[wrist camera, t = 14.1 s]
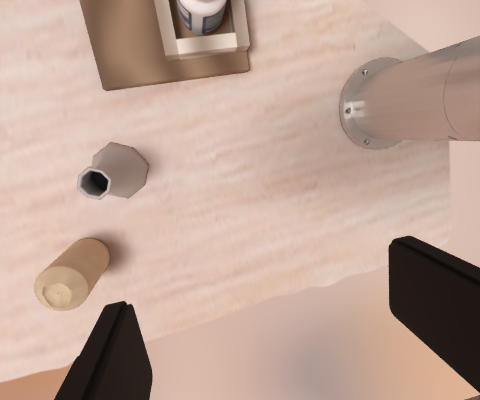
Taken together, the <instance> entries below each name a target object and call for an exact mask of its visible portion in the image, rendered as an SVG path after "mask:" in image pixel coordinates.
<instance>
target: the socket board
mask: <svg viewBox="0 0 480 400" xmlns="http://www.w3.org/2000/svg"><path fill="white" fill-rule="evenodd" d="M80 4H81V8H82V11H83V15H84V19H85V23H86V27H87V30H88V34H89V38H90V42H91V45H92V49H93V53H94V57H95V60H96V64H97V68H98V72H99V75H100V79H101V83H102V87H103V89H104V90H106V91H110V90H118V89H125V88H133V87H140V86H148V85H155V84H162V83H170V82H177V81H185V80H192V79H200V78H207V77H214V76H222V75H229V74H237V73H244V72H247V71H248V70H249V65H248V58H247V49H248V48H249V46H250V42H249V35H248V27H247V19H246V12H245V4H244V0H227V1H226V5H225V9H224V14H223V18H222V21H221V24H220V26H219V27H218V29H217V30H216V31H215V32H213V33H212V34H209V35H205V36H201V35H196V34H194V33H192V32H190V31H189V30H188V29H187V28H186V27H185V26H184V25H183V23H182V22H181V20H180V17H179V13H178V7H177V0H80Z"/></svg>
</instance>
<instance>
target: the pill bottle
mask: <svg viewBox="0 0 480 400" xmlns="http://www.w3.org/2000/svg"><path fill="white" fill-rule="evenodd" d="M226 1H227V0H177V7H178V13H179V17H180V20H181V22H182V23H183V25H184V26H185V27H186V28H187V29H188V30H189V31H190V32H192V33H194V34H196V35H201V36H205V35H209V34H212V33H213V32H215V31H216V30H217V29H218V27H219V26H220V24H221V21H222V18H223V14H224V9H225V5H226Z"/></svg>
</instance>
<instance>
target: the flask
mask: <svg viewBox="0 0 480 400" xmlns="http://www.w3.org/2000/svg"><path fill="white" fill-rule="evenodd" d="M147 170H148V164H147V163H146V162H145V160H144V159H143V158H142V157H141V156H140V155H139V154H138V153H137V152H136V150H135V149H134V148H131V147H127V146H123V145H119V144H115V143H111V142H110V143H109V144H108V145H107V146H105V147H104V148H103V149H102V150H100V151H99V152H98V153H97V154H96V155H94V156H93V162H92V167H88V168H87V169H85V170H84V171H83V172H82V173H81V174H79V176H78V182H77V188H78V189H79V190H80V191H81V192H82V193H83V194H84V195H85V196H86V197H89V198H93V199H98V200H101V199H102V198H103V197H104V196H106V195H107V194H109V195H114V196H119V197H124V198H129V197H131V196H132V195H133V194H134V193H136V192H137V191H138V190H139V189H141V188H142V187H143V186H144V185H145V180H146V175H147Z"/></svg>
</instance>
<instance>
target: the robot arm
mask: <svg viewBox="0 0 480 400" xmlns="http://www.w3.org/2000/svg"><path fill="white" fill-rule="evenodd" d="M345 110H346V112H345ZM340 118H341V123H342V126H343V128H344V130H345V132H346V134H347V135H348V137H349V138H350V139H351V140H352V141H353V142H354V143H356V144H357V145H359V146H361V147H364V148H367V149H385V148H389V147H392V146H394V145H396V144H397V143H399V142H401V141H402V140H403V139H404V140H449V141H480V36H478V37H475V38H472V39H469V40H467V41H463V42H460V43H458V44H455V45H452V46H449V47H446V48H443V49H440V50H437V51H434V52H431V53H429V54H426V55H423V56H420V57H417V58H414V59H411V60H408V61H405V62H402V61H400V60H398V59H394V58H380V59H376V60H373V61H370V62H368V63H366V64H364V65H363V66H361V67H360V68H359V69H358V70H356V71H355V72H354V73H353V74H352V76H351V77H350V78H349V80H348V81H347V83H346V85H345V87H344V89H343V92H342V96H341V100H340ZM364 141H365V142H364ZM389 306H390V310H391V312H392V314H393V315H394V316H395V317H396V318H397V319H398V320H399V321H400V322H401V323H403V324H404V325H405V326H406V327H407V328H408V329H409V330H410V331H412V332H413V333H414V334H415V335H416V336H417V337H418V338H419V339H420V340H421V341H423V342H424V343H425V344H426V345H427V346H428V347H429V348H430V349H431V350H433V351H434V352H435V353H436V354H437V355H438V356H439V357H440V358H442V359H443V360H444V361H445V362H446V363H447V364H448V365H449V366H450V367H451V368H453V369H454V370H455V371H456V372H457V373H458V374H459V375H460V376H461V377H463V378H464V379H465V380H466V381H467V382H468V383H469V384H470V385H471V386H473V387H474V388H475V389H476V390H477V391H478V392H479V393H480V268H479V267H477V266H475V265H472V264H471V263H468V262H466V261H464V260H462V259H460V258H458V257H455V256H453V255H451V254H449V253H447V252H445V251H443V250H440V249H438V248H436V247H434V246H432V245H430V244H427V243H425V242H423V241H421V240H419V239H417V238H414V237H412V236H405V237H401V238H396V239H394V240H393V241H392V243H391V244H390V245H389ZM151 386H152V369H151V365H150V361H149V358H148V355H147V351H146V348H145V344H144V341H143V338H142V334H141V331H140V328H139V324H138V321H137V318H136V314H135V311H134V308H133V305H132V304H128V305H127V303H126V302H125V301H122V302H117V303H113V304H108V305H106V306H105V307H104V309H103V311H102V313H101V315H100V317H99V319H98V321H97V322H96V324H95V326H94V328H93V330H92V332H91V334H90V336H89V338H88V340H87V342H86V344H85V346H84V348H83V350H82V352H81V354H80V356H78V357H77V358H76V359H75V361H74V363H73V364H72V366H71V368H70V370H69V372H68V374H67V376H66V378H65V380H64V382H63V384H62V386H61V387H60V389H59V391H58V393H57V395H56V397H55V399H54V400H149V398H150V392H151ZM466 400H480V395H478V396H475V397H472V398H469V399H466Z"/></svg>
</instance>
